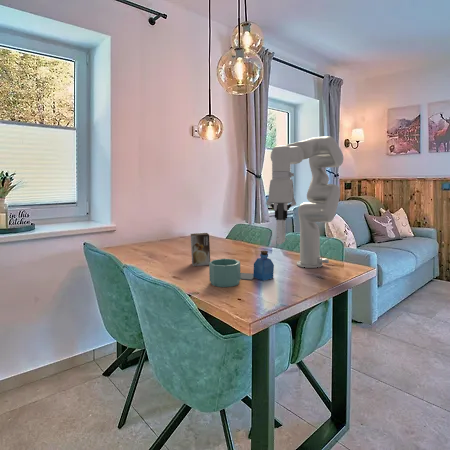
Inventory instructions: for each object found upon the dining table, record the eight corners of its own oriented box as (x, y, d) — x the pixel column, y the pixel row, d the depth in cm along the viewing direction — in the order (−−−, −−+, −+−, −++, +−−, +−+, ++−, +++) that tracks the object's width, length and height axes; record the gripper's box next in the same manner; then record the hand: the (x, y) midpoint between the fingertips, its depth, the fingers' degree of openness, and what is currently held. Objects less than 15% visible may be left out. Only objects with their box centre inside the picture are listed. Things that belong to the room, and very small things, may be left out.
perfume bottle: (262, 281, 150) (263, 254, 148) (253, 276, 155) (254, 250, 152) (273, 278, 153) (274, 252, 151) (263, 274, 158) (264, 248, 156)
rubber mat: (257, 274, 160) (257, 273, 160) (251, 280, 151) (251, 279, 151) (232, 272, 164) (232, 272, 164) (225, 278, 155) (225, 277, 155)
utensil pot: (243, 279, 152) (242, 259, 151) (234, 288, 141) (233, 266, 140) (216, 277, 156) (216, 258, 155) (206, 285, 145) (205, 264, 144)
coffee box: (208, 262, 186) (207, 232, 183) (210, 265, 179) (209, 234, 177) (191, 263, 184) (190, 233, 182) (192, 266, 178) (191, 235, 175)
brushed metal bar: (285, 240, 153) (286, 199, 151) (281, 244, 145) (282, 200, 143) (280, 240, 154) (280, 199, 152) (276, 243, 145) (276, 200, 143)
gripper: (301, 175, 146) (301, 219, 149) (264, 176, 152) (264, 218, 154) (299, 175, 139) (299, 221, 142) (260, 176, 145) (260, 220, 147)
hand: (281, 219), depth 148 cm, fingers closed on brushed metal bar, 2 cm apart
